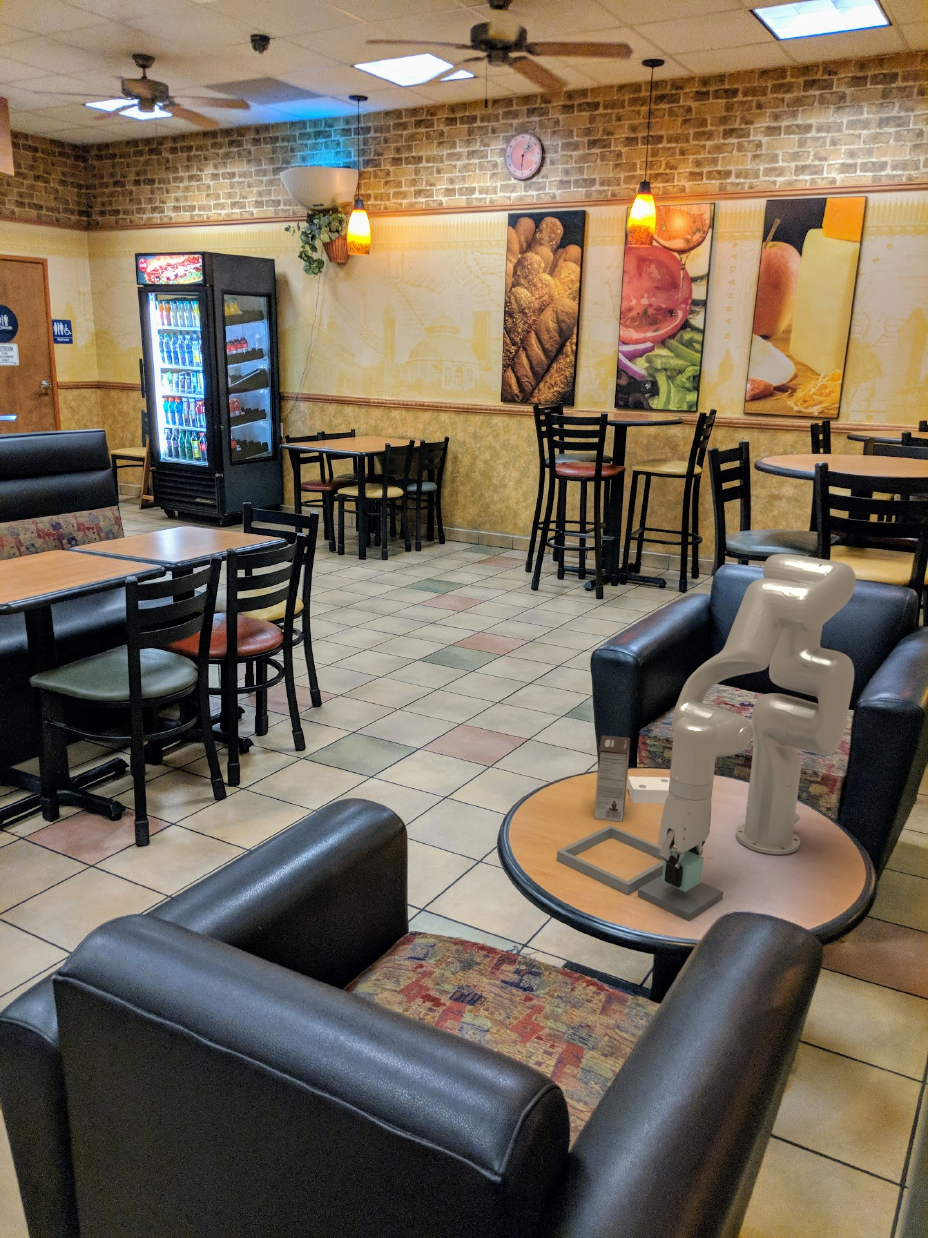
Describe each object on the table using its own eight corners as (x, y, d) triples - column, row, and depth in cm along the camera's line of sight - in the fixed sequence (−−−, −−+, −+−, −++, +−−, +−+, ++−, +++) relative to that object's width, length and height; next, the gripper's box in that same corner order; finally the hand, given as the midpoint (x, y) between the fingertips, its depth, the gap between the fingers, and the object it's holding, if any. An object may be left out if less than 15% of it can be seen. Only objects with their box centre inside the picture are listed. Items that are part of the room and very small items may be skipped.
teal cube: (677, 872, 175) (679, 847, 174) (700, 882, 172) (703, 857, 171) (662, 881, 172) (664, 856, 171) (685, 892, 169) (688, 866, 167)
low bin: (609, 834, 197) (610, 825, 196) (679, 864, 185) (680, 855, 184) (556, 860, 185) (557, 851, 184) (627, 895, 173) (628, 885, 173)
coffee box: (596, 801, 212) (601, 734, 208) (625, 804, 211) (630, 737, 207) (593, 819, 203) (598, 749, 199) (623, 822, 202) (629, 752, 198)
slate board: (671, 876, 180) (672, 869, 180) (722, 899, 173) (723, 892, 172) (637, 896, 173) (638, 888, 173) (689, 921, 165) (689, 913, 165)
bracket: (682, 792, 219) (685, 762, 217) (689, 805, 212) (693, 774, 210) (626, 790, 219) (629, 760, 217) (632, 804, 212) (634, 772, 210)
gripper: (698, 768, 176) (689, 856, 180) (645, 793, 164) (637, 887, 169) (734, 780, 171) (724, 871, 175) (681, 807, 159) (672, 904, 164)
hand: (681, 878), depth 172 cm, fingers closed on teal cube, 5 cm apart
